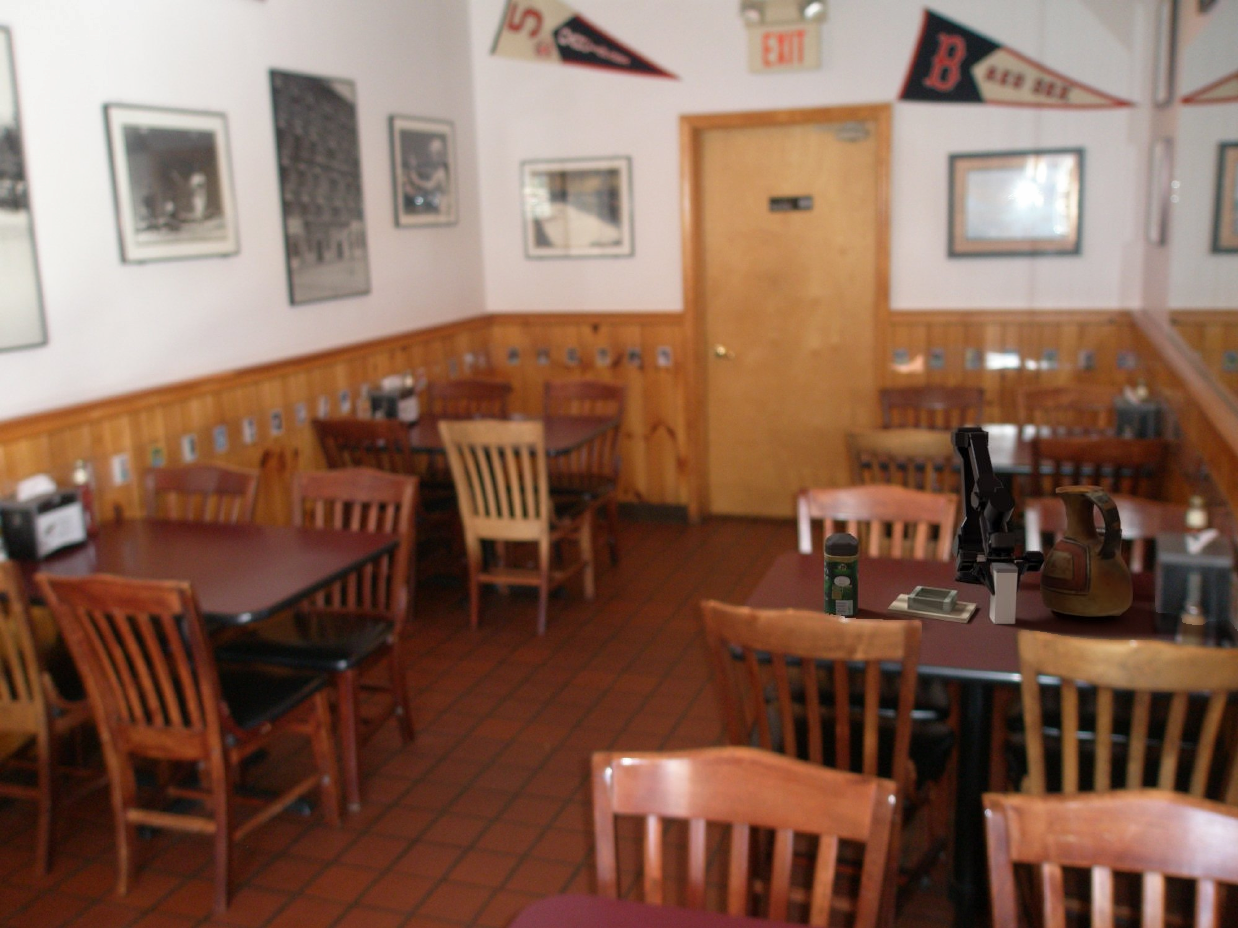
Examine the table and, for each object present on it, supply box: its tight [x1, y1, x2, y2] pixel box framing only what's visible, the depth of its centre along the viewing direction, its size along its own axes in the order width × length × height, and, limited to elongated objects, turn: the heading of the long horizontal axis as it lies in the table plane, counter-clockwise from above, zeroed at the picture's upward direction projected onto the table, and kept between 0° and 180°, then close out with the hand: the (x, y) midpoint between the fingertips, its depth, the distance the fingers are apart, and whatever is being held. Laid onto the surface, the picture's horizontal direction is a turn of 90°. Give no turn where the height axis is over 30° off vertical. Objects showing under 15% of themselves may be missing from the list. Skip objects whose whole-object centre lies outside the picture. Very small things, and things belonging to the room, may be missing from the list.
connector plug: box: [989, 563, 1018, 625], centre depth 258 cm, size 5×5×13 cm
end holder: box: [886, 585, 978, 624], centre depth 267 cm, size 12×18×4 cm, turn 62°
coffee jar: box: [823, 532, 860, 618], centre depth 266 cm, size 10×8×19 cm
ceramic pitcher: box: [1039, 484, 1134, 618], centre depth 260 cm, size 20×20×30 cm
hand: (1004, 594), depth 257 cm, fingers closed on connector plug, 4 cm apart
